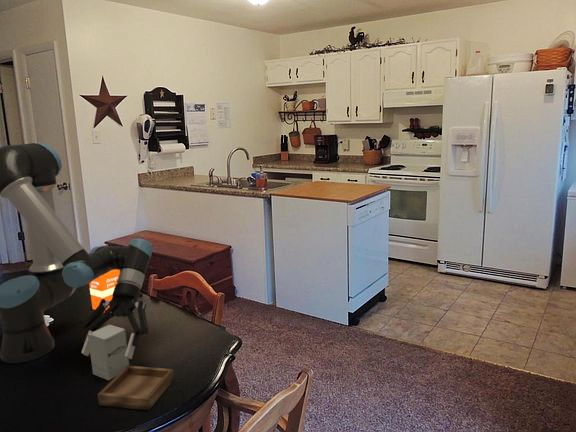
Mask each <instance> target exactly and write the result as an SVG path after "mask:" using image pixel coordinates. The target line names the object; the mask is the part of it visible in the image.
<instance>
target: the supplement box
mask: <svg viewBox="0 0 576 432" xmlns="http://www.w3.org/2000/svg"><path fill="white" fill-rule="evenodd" d="M126 335H127V334H126V328H123V327H119V326H117V325H113V324H107V325H105V326H102V327H100V328H98V329H97V330H96V331H94V332H92V333H90V334H88V340H89V347H90V353H89V355H90V361H91V369H92V374H93V375H95V376H96V377H99V378H101V379H104V380H106V381H110V380H113V379H114V378H115V377H116V376H117V375H118V374H119V373H120V372H121V371H122V370H123V369H124V368H125V367H126V366H127V365H128V366H130V361H129V360H130V359H129V358H127V357H125V353H126V350H127V347H128V343H127V336H126Z"/></svg>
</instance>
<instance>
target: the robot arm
mask: <svg viewBox="0 0 576 432" xmlns="http://www.w3.org/2000/svg"><path fill="white" fill-rule="evenodd" d="M62 165H63V164H62V159H61V157H60V155H59V153H58V151H57V150H56V149H54V148H53V147H52V146H51V145H49V144H46V143H41V142H40V143H38V142H37V143H36V142H32V143H30V142H29V143H22V144H8V145H3V146H1V147H0V197H1V198H4V199H7V200H8V201H9V202H10V203H11V204H12V206H13V207H14V208H15V210H16V211H17V212H18V213H19V214H20V216H21V217H22V218H23V219H24V220H25V222H26V224H27V231H28V237H29V243H30V251H31V256H32V264H31V266H29V268H28V271H29V272H28V273H29V274H28V275H20V276H17V277H14V278H10V279H8V280H6V281H5V282H3V283H1V284H0V323H1V329H2V340H1V345H0V346H1V347H0V360H1V361H2V362H3V361H4V362H3V363H6V362H7V364H21V363H27V362H30V361H34V360H36V359H40V358H42V357H44V356H45V355H47V354H49V353H50V352H52V351H53V349H54V348H55V347H56V345H55V343H56V342H55V339H54V336H53V335H52V334H51V331H50V329H49V327H48V326H47V324H46V321H45V313H44V312H45V311H47V310H49V309H51V308H53V307H55V306H56V305H58V304H59V303H61V302H64V301H66V300H67V299H68V298H69V297H71V296H72V295H73V294H74V293H75V292H76V290H77V288H78V289H79V288H81V287H83V286H86V285H88V284H89V283H91V282H92V281H93V280H95V279H97V278H98V277H100V276H102V275H104V274H106V273H108V272H109V271H111V270H120V274H119V276H118V279H117V284H116V285H115V288H114V291H113V297H112V299H111V301H106V300H105V299H102V300H101V302H100V304H99V306H98V307H97V308H96V309H95V310H94V309H93V310H94V311H93V312H92V313H91V314H90V315H89V316H88V317H87V319H86V320H85V321H84V322H83V323H82V325H81V328H82V329H84V330H85V331H86V332H85V334H84V337H83V343H84V344H83V347H82V350H81V354H83V356H86V357H90V356H89V355H90V347H89V340H88V334H90V333H92V332H94V331H96V330H98V329H100V328H102V327H103V325H104V324H105V323H107V321H109V320H110V319H112V318H114V317H117V318H119V317H123V318H126V317H127V319H128V321H129V323H130V325H131V327H132V330H133V332H132V333H131V334H130V336H129V341H128V343H127V350H126V353H125V357H127V358H128V360H132V359H133V355H134V352H135V349H136V348H137V347H138V346H139V344H140V340H141V337H142V336H143V335H148V334H149V326H148V322H147V321H148V320H147V316H146V307H147V306H146V303H145V302H144V301H143V300H139V297H140V293H141V289H142V286H143V283H144V282H145V279H146V274H147V273H146V272H147V271H148V268H149V265H150V261H151V259H152V254H153V250H154V249H153V244H152V243H151V242H150V241H148V240H146V239H143V238H139V237H137V238H133V239H131V240H130V242H129V243H128V245H127V246H126V245H125V246H120V245H119V246H116V245H115V246H112V245H111V246H109V245H101V246H94V247H93V248H91V249H90V251H89V253H88V251H86V249H85V248H84V247H83V245H82V244H81V243H80V242H79V240H78V239H77V238H76V237H75V236H74V234H73V233H72V232H71V230H70V229H69V228H68V227H67V226H66V225H65V223H64V222H63V220H62V219H61V218H60V217H59V216H58V215H57V213H56V206H55V202H54V201H55V200H54V191H53V189H54V188H55V187H56V186H57V176H58V175H60V172H61V170H62ZM138 300H139V301H138ZM108 306H110V307H109V308H108ZM106 308H108V309H107V310H106ZM135 309H136V310H137V313H138V321H139V323H138V321H137V319H136V317H135V314H134V312H133V311H134V310H135ZM104 311H105V313H104Z"/></svg>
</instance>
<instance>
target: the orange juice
mask: <svg viewBox="0 0 576 432" xmlns="http://www.w3.org/2000/svg"><path fill="white" fill-rule="evenodd" d="M120 271H121V270H111V271H109V272H108V273H106V274H104V275H102V276H100V277H98V278H97V279H95V280H93V281H92V282H91V283H88V284H89V291H90V292H89V294H90V300H91V306H92V310H95V309H96V308H97V307H98V306H99V304H100V302H101V300H102V299H105V300H106V301H111V299H112V297H113V291H114V288H115V285H116V284H117V279H118V276H119V274H120ZM109 307H110V306H108V308H109ZM108 308H106V310H107V309H108ZM104 313H105V311H104Z"/></svg>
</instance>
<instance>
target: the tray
mask: <svg viewBox="0 0 576 432" xmlns="http://www.w3.org/2000/svg"><path fill="white" fill-rule="evenodd" d="M174 375H175V374H174V368H173V369H172V368H163V367H151V366H150V367H149V366H139V365H138V366H136V365H129V366H128V365H127V366H126V367H125V368H124V369H123V370H122V371H121V372H120V373H119V374H118V375H117V376H115V377H114V378H112V379H111V381H110V382H109V383H108V384H106V386H105V387H104V388H103V389H101V390H100V392H99V393H98V394H97V401H98V405H99V406H105V407H112V408H113V407H114V408H122V409H124V408H125V409H131V410H140V411H141V410H144V411H150V410H151V409H152V408H153V406H154V405H155V404H156V402H158V400H159V399H160V398H161V396H162V395H163V394H164V392H165V391H166V390H167V389H168V388H169V387H170V385H171V384H172V382H174V380H175V376H174Z"/></svg>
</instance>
